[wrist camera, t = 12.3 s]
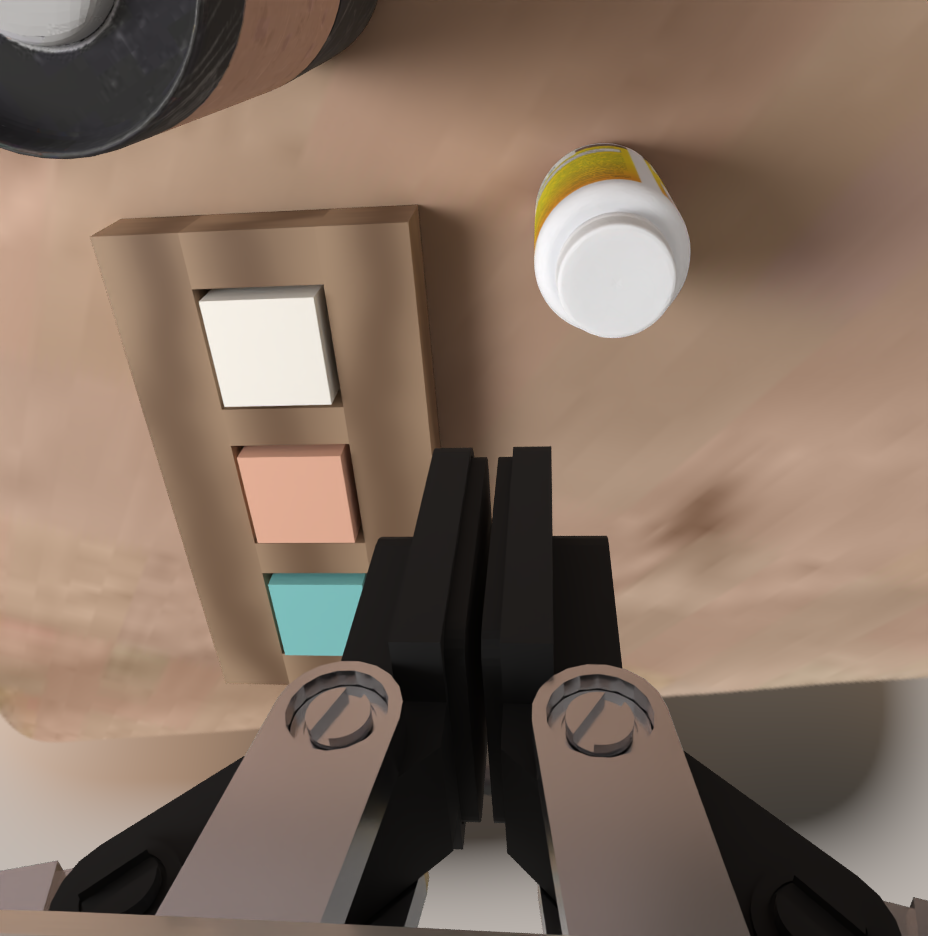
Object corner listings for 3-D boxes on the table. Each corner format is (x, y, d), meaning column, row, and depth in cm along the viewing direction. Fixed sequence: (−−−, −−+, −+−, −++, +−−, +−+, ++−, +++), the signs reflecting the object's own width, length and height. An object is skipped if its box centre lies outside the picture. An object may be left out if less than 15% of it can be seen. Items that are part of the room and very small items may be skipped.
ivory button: (328, 275, 38) (313, 297, 35) (344, 377, 40) (331, 404, 38) (221, 279, 38) (198, 301, 36) (244, 379, 41) (224, 406, 38)
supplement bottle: (511, 226, 36) (500, 305, 28) (584, 112, 34) (599, 161, 25) (611, 292, 37) (631, 388, 29) (690, 188, 35) (738, 259, 26)
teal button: (372, 550, 46) (361, 584, 43) (382, 620, 49) (373, 656, 46) (283, 551, 46) (267, 584, 44) (298, 619, 49) (285, 655, 47)
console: (417, 204, 36) (408, 222, 34) (459, 651, 50) (455, 687, 47) (120, 219, 38) (89, 236, 35) (241, 648, 52) (225, 683, 49)
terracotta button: (352, 426, 42) (340, 456, 39) (365, 510, 44) (354, 542, 42) (255, 428, 42) (236, 457, 40) (274, 510, 45) (257, 543, 42)
